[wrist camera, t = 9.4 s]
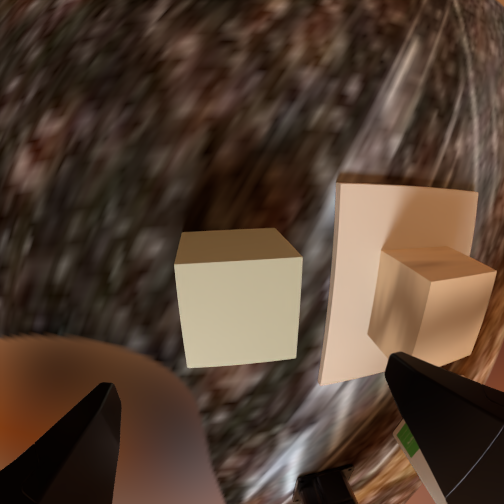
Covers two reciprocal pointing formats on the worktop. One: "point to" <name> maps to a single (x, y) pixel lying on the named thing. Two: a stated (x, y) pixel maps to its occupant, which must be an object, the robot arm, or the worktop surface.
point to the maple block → (429, 303)
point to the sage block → (238, 296)
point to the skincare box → (418, 460)
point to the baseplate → (368, 256)
